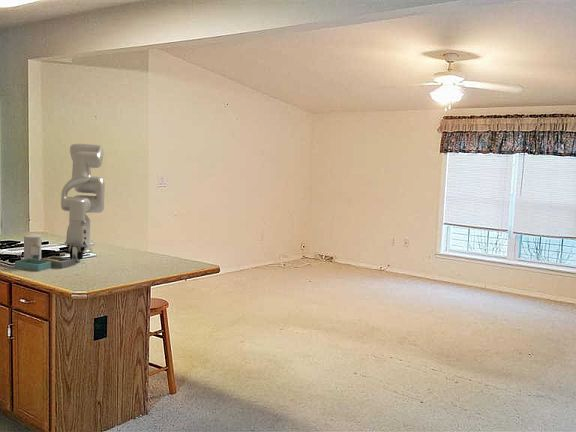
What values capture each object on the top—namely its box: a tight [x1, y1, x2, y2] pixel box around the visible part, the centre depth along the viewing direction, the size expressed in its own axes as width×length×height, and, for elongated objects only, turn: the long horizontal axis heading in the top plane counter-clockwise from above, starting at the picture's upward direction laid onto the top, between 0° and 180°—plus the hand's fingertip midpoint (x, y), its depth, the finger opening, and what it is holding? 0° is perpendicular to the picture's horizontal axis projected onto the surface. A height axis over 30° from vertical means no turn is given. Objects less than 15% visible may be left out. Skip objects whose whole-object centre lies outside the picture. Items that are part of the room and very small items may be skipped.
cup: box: [23, 234, 42, 260], centre depth 284 cm, size 8×8×12 cm
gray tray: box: [40, 255, 76, 269], centre depth 275 cm, size 10×13×3 cm
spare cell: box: [31, 245, 40, 260], centre depth 276 cm, size 4×4×9 cm
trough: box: [14, 258, 52, 272], centre depth 266 cm, size 9×14×3 cm, turn 73°
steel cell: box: [72, 246, 81, 264], centre depth 283 cm, size 4×4×9 cm
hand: (76, 258), depth 283 cm, fingers closed on steel cell, 4 cm apart
